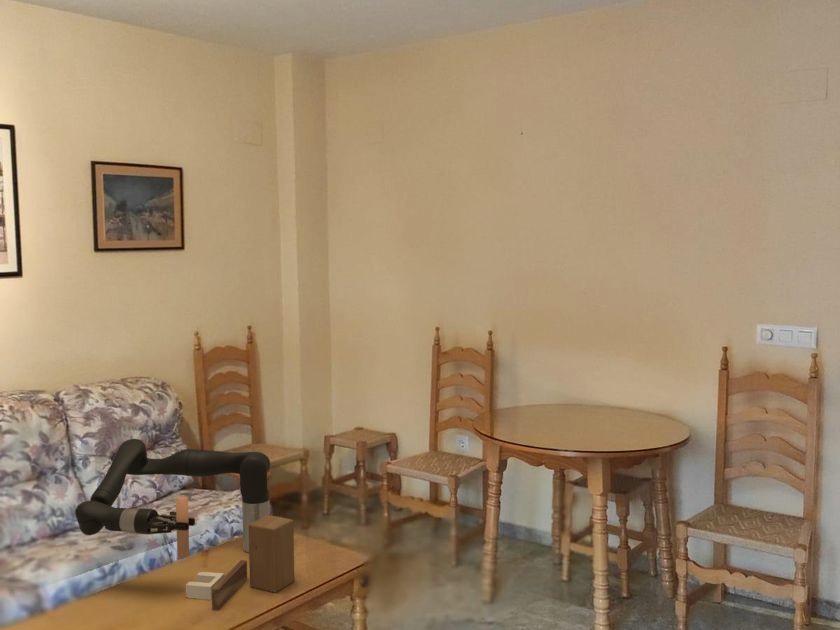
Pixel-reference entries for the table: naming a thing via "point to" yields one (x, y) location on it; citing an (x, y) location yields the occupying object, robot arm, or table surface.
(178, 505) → the dowel
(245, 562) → the wall
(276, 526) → the wooden block
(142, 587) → the table surface
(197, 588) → the notched block
